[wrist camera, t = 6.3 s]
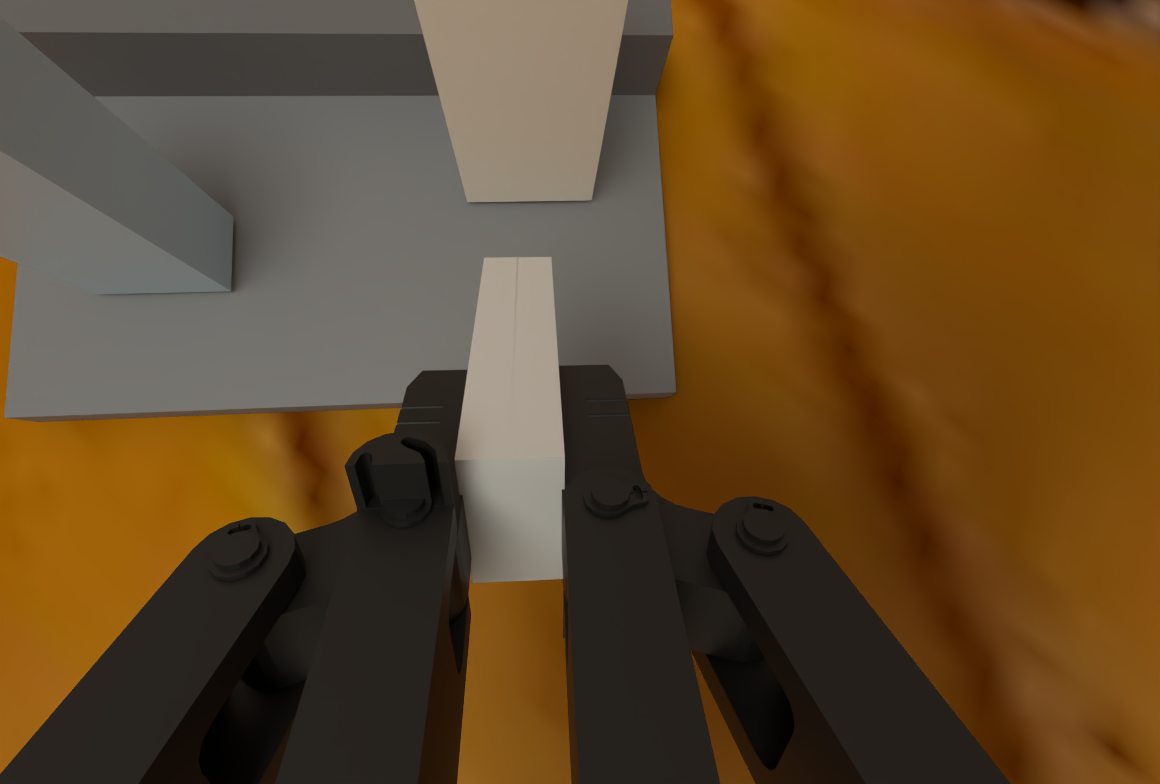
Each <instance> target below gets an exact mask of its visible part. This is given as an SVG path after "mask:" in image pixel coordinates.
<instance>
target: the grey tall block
mask: <svg viewBox="0 0 1160 784" xmlns="http://www.w3.org/2000/svg"><path fill="white" fill-rule="evenodd" d="M233 219H234V217H233V216H232V215H231V214H230V213H229V212H228V211H226V210H225V209H224V208H223V207H222V206H221V205H219V204H218V203H217V202H216V201H215V200H214V199H212V198H211V197H210V196H209V195H208V194H207V193H205V192H204V191H203V190H202V189H201V188H200V187H198V186H197V185H196V184H195V183H194V182H193V181H191V180H190V179H189V178H188V177H187V176H186V175H184V174H183V173H182V172H181V171H180V170H179V169H177V168H176V167H175V166H174V165H173V164H172V163H170V162H169V161H168V160H167V159H166V158H165V157H163V156H162V155H161V154H160V153H159V152H158V151H156V150H155V149H154V148H153V147H152V146H151V145H149V144H148V143H147V142H146V141H145V140H144V139H142V138H141V137H140V136H139V135H138V134H137V133H135V132H134V131H133V130H132V129H131V128H130V127H128V126H127V125H126V124H125V123H124V122H123V121H121V120H120V119H119V118H118V117H117V116H116V115H114V114H113V113H112V112H111V111H110V110H109V109H107V108H106V107H105V106H104V105H103V104H102V103H100V102H99V101H98V100H97V99H96V98H95V97H93V96H92V95H91V94H90V93H89V92H88V91H86V90H85V89H84V88H83V87H82V86H81V85H79V84H78V83H77V82H76V81H75V80H74V79H72V78H71V77H70V76H69V75H68V74H67V73H65V72H64V71H63V70H62V69H61V68H60V67H58V66H57V65H56V64H55V63H54V62H53V61H51V60H50V59H49V58H48V57H47V56H46V55H44V54H43V53H42V52H41V51H40V50H39V49H37V48H36V47H35V46H34V45H33V44H32V43H30V42H29V41H28V40H27V39H26V38H25V37H23V36H22V35H21V34H20V33H19V32H18V31H16V30H15V29H14V28H13V27H12V26H11V25H9V24H8V23H7V22H6V21H5V20H4V19H2V18H1V17H0V256H1V257H3V258H5V259H8V260H10V261H13V262H15V263H18V264H20V265H22V266H25V267H27V268H30V269H32V270H34V271H37V272H39V273H42V274H44V275H47V276H49V277H51V278H54V279H56V280H59V281H61V282H63V283H66V284H68V285H71V286H73V287H76V288H78V289H80V290H83V291H85V292H88V293H90V294H93V295H97V294H138V293H178V292H219V291H231V275H232V247H233Z"/></svg>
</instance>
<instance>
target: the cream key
mask: <svg viewBox="0 0 1160 784" xmlns="http://www.w3.org/2000/svg"><path fill="white" fill-rule="evenodd" d="M414 2H415V6H416V10H417V13H418V17H419V21H420V25H421V29H422V32H423V36H424V40H425V44H426V48H427V51H428V55H429V59H430V63H431V67H432V70H433V74H434V78H435V82H436V86H437V89H438V93H439V97H440V101H441V105H442V108H443V112H444V116H445V120H446V124H447V127H448V131H449V135H450V139H451V143H452V146H453V150H454V154H455V158H456V161H457V165H458V169H459V173H460V177H461V180H462V184H463V188H464V192H465V196H466V199H467V202H517V201H585V200H592V195H593V190H594V184H595V179H596V173H597V168H598V163H599V157H600V152H601V146H602V141H603V135H604V130H605V124H606V119H607V113H608V108H609V103H610V97H611V92H612V86H613V81H614V75H615V70H616V64H617V59H618V54H619V48H620V43H621V37H622V32H623V26H624V21H625V15H626V10H627V4H628V0H414Z"/></svg>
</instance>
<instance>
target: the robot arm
mask: <svg viewBox="0 0 1160 784" xmlns="http://www.w3.org/2000/svg"><path fill="white" fill-rule="evenodd" d="M626 399H627V398H626V393H625V389H624V384H623V380H622V379H621V378H620V376H619V375H618V374H617V373H616V372H615V371H614V370H613V369H612V368H611V367H610V366H609V365H566V366H559V364H558V349H557V334H556V320H555V305H554V290H553V275H552V260H551V257H496V258H484V262H483V268H482V275H481V282H480V289H479V296H478V303H477V310H476V316H475V323H474V330H473V337H472V344H471V351H470V358H469V364H468V370H426V371H422V372H421V373H420V374H419V375H418V376H417V377H416V378H415V379H414V380H413V381H412V382H411V383H410V384H409V385H408V386H407V388H406V392H405V395H404V399H403V403H402V410H400V413H399V417H398V421H397V425H396V428H395V431H394V433H390V434H385V435H382V436H380V437H377V438H375V439H373V440H370V441H368V442H366V443H365V444H364V445H362V446H361V447H360V448H358V449H357V450H356V451H354V452H353V453H352V455H351V457H350V458H349V460H348V461H347V463H346V464H345V469H346V472H347V476H348V479H349V483H350V486H351V489H352V493H353V496H354V499H355V503H356V506H357V512H355V513H353V514H351V515H349V516H348V517H346V518H344V519H342V520H339V521H336V522H334V523H331V524H328V525H325V526H321V527H318V528H314V529H311V530H307V531H304V532H300V533H297V534H294V533H293V532H292V530H291V529H290V528H289V527H288V526H287V525H286V523H284V522H281V521H279V520H276V519H273V518H270V517H257V518H247V519H244V520H240V521H236V522H233V523H229V524H228V525H226V526H224V527H222V528H220V529H218V530H216V531H214V532H213V533H211V534H209V535H208V536H207V537H206V538H205V539H204V540H202V541H201V542H200V543H199V544H198V545H197V546H196V547H195V548H193V550H192V551H191V552H190V553H189V554H188V555H187V557H186V558H185V559H184V560H183V561H182V562H181V564H180V565H179V566H178V567H177V568H176V569H175V571H174V572H173V573H172V574H171V575H170V576H169V578H168V579H167V580H166V581H165V582H164V583H163V585H162V586H161V587H160V588H159V589H158V590H157V592H156V593H155V594H154V595H153V596H152V598H151V599H150V600H149V601H148V602H147V603H146V605H145V606H144V607H143V608H142V609H141V610H140V612H139V613H138V614H137V615H136V616H135V617H134V619H133V620H132V621H131V622H130V623H129V624H128V626H127V627H126V628H125V629H124V630H123V631H122V633H121V634H120V635H119V636H118V637H117V638H116V640H115V641H114V642H113V643H112V644H111V645H110V647H109V648H108V649H107V650H106V651H105V652H104V654H103V655H102V656H101V657H100V658H99V659H98V661H97V662H96V663H95V664H94V665H93V666H92V668H91V669H90V670H89V671H88V672H87V673H86V675H85V676H84V677H83V678H82V679H81V680H80V682H79V683H78V684H77V685H76V686H75V687H74V689H73V690H72V691H71V692H70V693H69V694H68V696H67V697H66V698H65V699H64V700H63V701H62V703H61V704H60V705H59V706H58V707H57V708H56V710H55V711H54V712H53V713H52V714H51V715H50V717H49V718H48V719H47V720H46V721H45V723H44V724H43V725H42V726H41V727H40V728H39V730H38V731H37V732H36V733H35V734H34V735H33V737H32V738H31V739H30V740H29V741H28V742H27V744H26V745H25V746H24V747H23V748H22V749H21V751H20V752H19V753H18V754H17V755H16V756H15V758H14V759H13V760H12V761H11V762H10V763H9V765H8V766H7V767H6V768H5V769H4V770H3V772H2V773H1V774H0V784H457V775H458V764H459V752H460V740H461V728H462V716H463V705H464V693H465V681H466V669H467V657H468V645H469V634H470V622H471V611H470V604H469V597H468V591H469V581H470V570H471V577H472V583H486V582H508V581H530V580H552V579H563V588H564V623H563V638H565V652H566V674H567V695H568V716H569V738H570V759H571V780H572V784H720V781H719V776H718V772H717V768H716V763H715V759H714V754H713V750H712V745H711V741H710V736H709V732H708V727H707V723H706V718H705V714H704V709H703V705H702V700H701V696H700V691H699V687H698V682H697V678H696V673H695V669H694V664H693V660H692V656H691V651H692V654H693V656H694V658H695V660H696V662H697V664H698V666H699V668H700V670H701V672H702V674H703V677H704V679H705V681H706V683H707V685H708V687H709V689H710V691H711V693H712V695H713V697H714V699H715V701H716V703H717V705H718V707H719V709H720V711H721V714H722V716H723V718H724V720H725V722H726V724H727V726H728V728H729V730H730V732H731V734H732V736H733V738H734V740H735V742H736V744H737V746H738V748H739V750H740V753H741V755H742V757H743V759H744V761H745V763H746V765H747V767H748V769H749V771H750V773H751V775H752V777H753V779H754V781H755V783H756V784H1010V783H1009V781H1008V780H1007V779H1006V777H1005V776H1004V775H1003V774H1002V772H1001V771H1000V770H999V769H998V767H997V766H996V765H995V763H994V762H993V761H992V760H991V758H990V757H989V756H988V755H987V753H986V752H985V751H984V750H983V748H982V747H981V746H980V744H979V743H978V742H977V741H976V739H975V738H974V737H973V736H972V734H971V733H970V732H969V730H968V729H967V728H966V727H965V725H964V724H963V723H962V722H961V720H960V719H959V718H958V717H957V715H956V714H955V713H954V711H953V710H952V709H951V708H950V706H949V705H948V704H947V703H946V701H945V700H944V699H943V697H942V696H941V695H940V694H939V692H938V691H937V690H936V689H935V687H934V686H933V685H932V684H931V682H930V681H929V680H928V678H927V677H926V676H925V675H924V673H923V672H922V671H921V670H920V668H919V667H918V666H917V665H916V663H915V662H914V661H913V659H912V658H911V657H910V656H909V654H908V653H907V652H906V651H905V649H904V648H903V647H902V645H901V644H900V643H899V642H898V640H897V639H896V638H895V637H894V635H893V634H892V633H891V632H890V630H889V629H888V628H887V626H886V625H885V624H884V623H883V621H882V620H881V619H880V618H879V616H878V615H877V614H876V612H875V611H874V610H873V609H872V607H871V606H870V605H869V604H868V602H867V601H866V600H865V599H864V597H863V596H862V595H861V593H860V592H859V591H858V590H857V588H856V587H855V586H854V585H853V583H852V582H851V581H850V579H849V578H848V577H847V576H846V574H845V573H844V572H843V571H842V569H841V568H840V567H839V566H838V564H837V563H836V562H835V560H834V559H833V558H832V557H831V555H830V554H829V553H828V552H827V550H826V549H825V548H824V546H823V545H822V544H821V543H820V541H819V540H818V539H817V538H816V536H815V535H814V534H813V533H812V531H811V530H810V529H809V527H808V526H807V525H806V524H805V522H804V521H803V520H802V519H800V518H799V517H798V516H797V515H796V514H795V513H794V512H793V511H792V510H791V509H789V508H787V507H785V506H783V505H781V504H779V503H777V502H775V501H773V500H769V499H764V498H759V497H755V496H754V497H740V498H735V499H733V500H731V501H729V502H726V503H724V504H723V505H722V506H721V507H720V508H719V509H718V511H717V512H716V513H715V514H711V513H706V512H702V511H697V510H693V509H688V508H685V507H682V506H679V505H675V504H673V503H671V502H669V501H667V500H666V499H664V498H662V497H661V496H659V495H658V494H657V493H656V492H655V491H653V490H652V488H651V486H650V485H649V484H648V483H647V482H646V480H645V478H644V475H643V473H642V469H641V464H640V459H639V455H638V450H637V445H636V441H635V436H634V431H633V426H632V422H631V417H630V412H629V407H628V403H627V400H626ZM690 649H691V651H690Z"/></svg>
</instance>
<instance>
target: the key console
mask: <svg viewBox="0 0 1160 784" xmlns="http://www.w3.org/2000/svg"><path fill="white" fill-rule="evenodd" d="M0 17H1V18H2V19H4V20H5V21H6V22H7V23H8V24H9V25H11V26H12V27H13V28H14V29H15V30H16V31H18V32H19V33H20V34H21V35H22V36H23V37H25V38H26V39H27V40H28V41H29V42H30V43H32V44H33V45H34V46H35V47H36V48H37V49H39V50H40V51H41V52H42V53H43V54H44V55H46V56H47V57H48V58H49V59H50V60H51V61H53V62H54V63H55V64H56V65H57V66H58V67H60V68H61V69H62V70H63V71H64V72H65V73H67V74H68V75H69V76H70V77H71V78H72V79H74V80H75V81H76V82H77V83H78V84H79V85H81V86H82V87H83V88H84V89H85V90H86V91H88V92H89V93H90V94H91V95H92V96H93V97H95V98H96V99H97V100H98V101H99V102H100V103H102V104H103V105H104V106H105V107H106V108H107V109H109V110H110V111H111V112H112V113H113V114H114V115H116V116H117V117H118V118H119V119H120V120H121V121H123V122H124V123H125V124H126V125H127V126H128V127H130V128H131V129H132V130H133V131H134V132H135V133H137V134H138V135H139V136H140V137H141V138H142V139H144V140H145V141H146V142H147V143H148V144H149V145H151V146H152V147H153V148H154V149H155V150H156V151H158V152H159V153H160V154H161V155H162V156H163V157H165V158H166V159H167V160H168V161H169V162H170V163H172V164H173V165H174V166H175V167H176V168H177V169H179V170H180V171H181V172H182V173H183V174H184V175H186V176H187V177H188V178H189V179H190V180H191V181H193V182H194V183H195V184H196V185H197V186H198V187H200V188H201V189H202V190H203V191H204V192H205V193H207V194H208V195H209V196H210V197H211V198H212V199H214V200H215V201H216V202H217V203H218V204H219V205H221V206H222V207H223V208H224V209H225V210H226V211H228V212H229V213H230V214H231V215H232V216H233V217H234V219H233V247H232V275H231V291H219V292H178V293H138V294H97V295H93V294H90V293H88V292H85V291H83V290H80V289H78V288H76V287H73V286H71V285H68V284H66V283H63V282H61V281H59V280H56V279H54V278H51V277H49V276H47V275H44V274H42V273H39V272H37V271H34V270H32V269H30V268H27V267H25V266H22V265H20V264H18V267H17V279H16V290H15V301H14V313H13V324H12V336H11V347H10V358H9V370H8V381H7V392H6V404H5V415H4V418H10V419H19V420H27V421H36V422H44V421H69V420H95V419H121V418H147V417H173V416H199V415H225V414H250V413H276V412H302V411H328V410H354V409H380V408H402V403H403V399H404V395H405V392H406V388H407V386H408V385H409V384H410V383H411V382H412V381H413V380H414V379H415V378H416V377H417V376H418V375H419V374H420V373H421V372H422V371H426V370H468V364H469V358H470V351H471V344H472V337H473V330H474V323H475V316H476V310H477V303H478V296H479V289H480V282H481V275H482V268H483V262H484V258H496V257H551V260H552V275H553V290H554V305H555V320H556V334H557V349H558V364H559V366H566V365H609V366H610V367H611V368H612V369H613V370H614V371H615V372H616V373H617V374H618V375H619V376H620V378H621V379H622V380H623V384H624V389H625V393H626V398H627V399H638V398H664V397H670V396H671V395H673V394H674V393H676V380H675V366H674V352H673V338H672V324H671V310H670V295H669V281H668V267H667V253H666V239H665V225H664V210H663V196H662V182H661V168H660V154H659V140H658V126H657V111H656V97H655V95H656V91H657V88H658V85H659V81H660V78H661V75H662V71H663V68H664V65H665V61H666V58H667V55H668V51H669V48H670V45H671V41H672V38H673V25H672V12H671V0H628V4H627V10H626V15H625V21H624V26H623V32H622V37H621V43H620V48H619V54H618V59H617V64H616V70H615V75H614V81H613V86H612V92H611V97H610V103H609V108H608V113H607V119H606V124H605V130H604V135H603V141H602V146H601V152H600V157H599V163H598V168H597V173H596V179H595V184H594V190H593V195H592V200H585V201H517V202H467V199H466V196H465V192H464V188H463V184H462V180H461V177H460V173H459V169H458V165H457V161H456V158H455V154H454V150H453V146H452V143H451V139H450V135H449V131H448V127H447V124H446V120H445V116H444V112H443V108H442V105H441V101H440V97H439V93H438V89H437V86H436V82H435V78H434V74H433V70H432V67H431V63H430V59H429V55H428V51H427V48H426V44H425V40H424V36H423V32H422V29H421V25H420V21H419V17H418V13H417V10H416V6H415V2H414V0H0Z"/></svg>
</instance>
